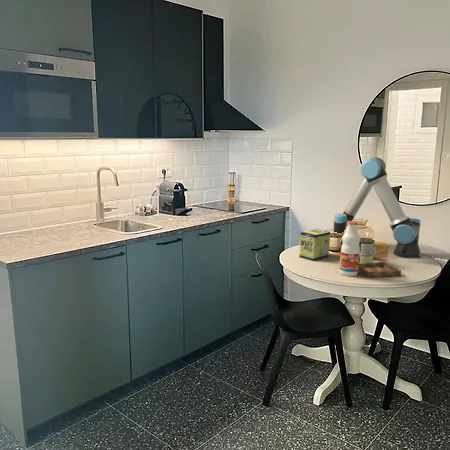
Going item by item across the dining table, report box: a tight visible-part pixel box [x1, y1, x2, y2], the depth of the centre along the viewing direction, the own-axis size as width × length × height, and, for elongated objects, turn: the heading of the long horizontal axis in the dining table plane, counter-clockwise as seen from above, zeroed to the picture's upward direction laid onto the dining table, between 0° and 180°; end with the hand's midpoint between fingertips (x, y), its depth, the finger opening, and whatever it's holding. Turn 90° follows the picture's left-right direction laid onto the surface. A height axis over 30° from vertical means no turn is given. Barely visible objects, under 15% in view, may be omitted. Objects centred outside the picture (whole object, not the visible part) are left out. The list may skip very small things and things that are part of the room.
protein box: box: [299, 228, 331, 262], centre depth 268 cm, size 10×16×16 cm
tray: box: [358, 261, 402, 279], centre depth 241 cm, size 19×16×3 cm
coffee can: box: [359, 237, 375, 263], centre depth 256 cm, size 10×10×14 cm
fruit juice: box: [339, 220, 361, 277], centre depth 236 cm, size 9×9×28 cm
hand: (364, 251), depth 255 cm, fingers open, 13 cm apart
